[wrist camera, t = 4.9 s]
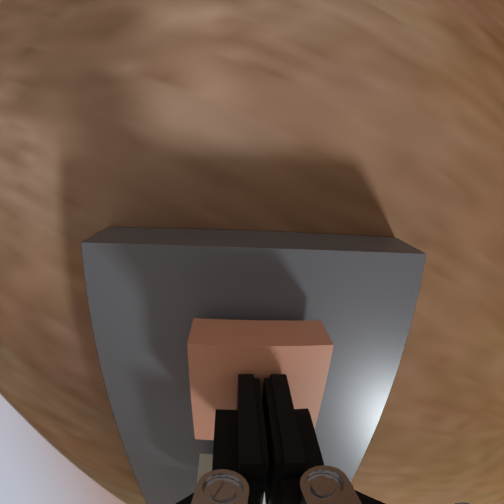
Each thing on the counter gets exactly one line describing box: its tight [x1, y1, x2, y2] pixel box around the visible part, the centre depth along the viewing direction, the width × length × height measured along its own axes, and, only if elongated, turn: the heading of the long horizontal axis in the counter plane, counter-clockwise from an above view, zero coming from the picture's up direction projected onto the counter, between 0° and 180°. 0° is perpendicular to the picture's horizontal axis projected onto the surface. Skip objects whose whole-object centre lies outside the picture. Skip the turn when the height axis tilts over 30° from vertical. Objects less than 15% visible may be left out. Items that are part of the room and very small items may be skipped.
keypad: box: [81, 227, 426, 504], centre depth 16 cm, size 24×14×3 cm, turn 177°
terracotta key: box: [187, 318, 334, 440], centre depth 11 cm, size 5×5×2 cm
